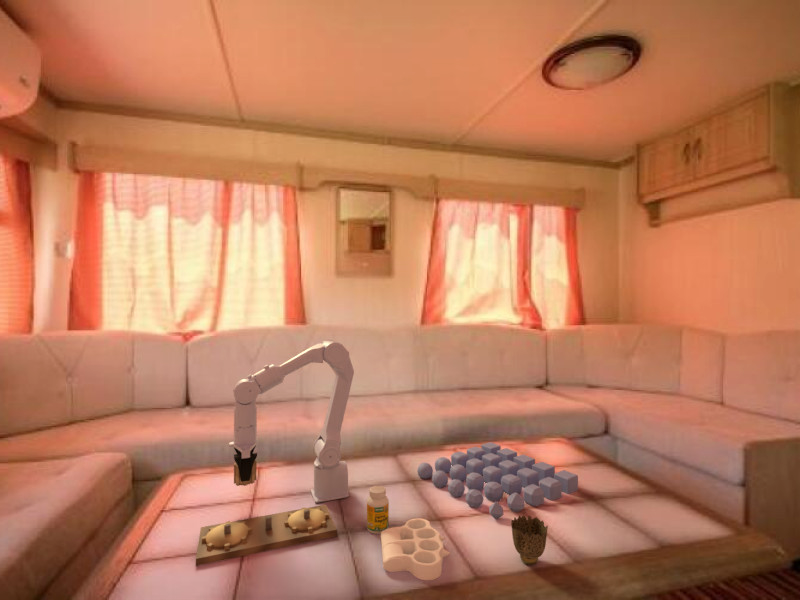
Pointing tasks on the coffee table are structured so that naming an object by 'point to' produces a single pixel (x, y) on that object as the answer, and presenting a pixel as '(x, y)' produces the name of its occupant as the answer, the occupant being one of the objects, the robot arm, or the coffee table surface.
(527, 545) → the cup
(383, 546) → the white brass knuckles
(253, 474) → the maple gear
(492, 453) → the blocks
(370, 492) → the supplement bottle
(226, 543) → the gear board
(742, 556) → the coffee table surface
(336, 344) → the robot arm
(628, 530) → the coffee table surface
